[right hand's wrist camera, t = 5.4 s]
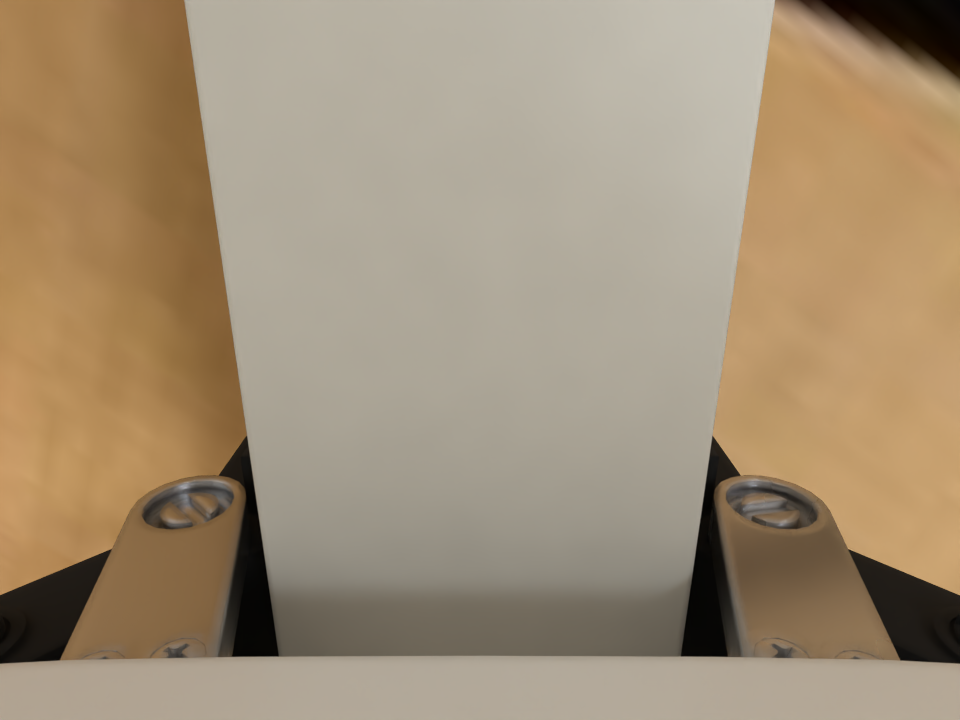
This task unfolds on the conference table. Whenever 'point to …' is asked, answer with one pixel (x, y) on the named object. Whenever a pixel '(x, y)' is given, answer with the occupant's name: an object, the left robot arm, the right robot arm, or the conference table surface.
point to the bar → (479, 307)
